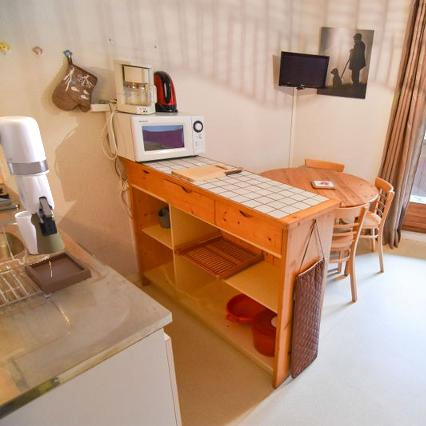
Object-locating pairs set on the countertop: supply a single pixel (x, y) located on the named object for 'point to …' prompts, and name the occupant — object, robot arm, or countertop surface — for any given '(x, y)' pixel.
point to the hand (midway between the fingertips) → (46, 230)
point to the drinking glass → (27, 231)
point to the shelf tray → (58, 272)
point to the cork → (46, 238)
